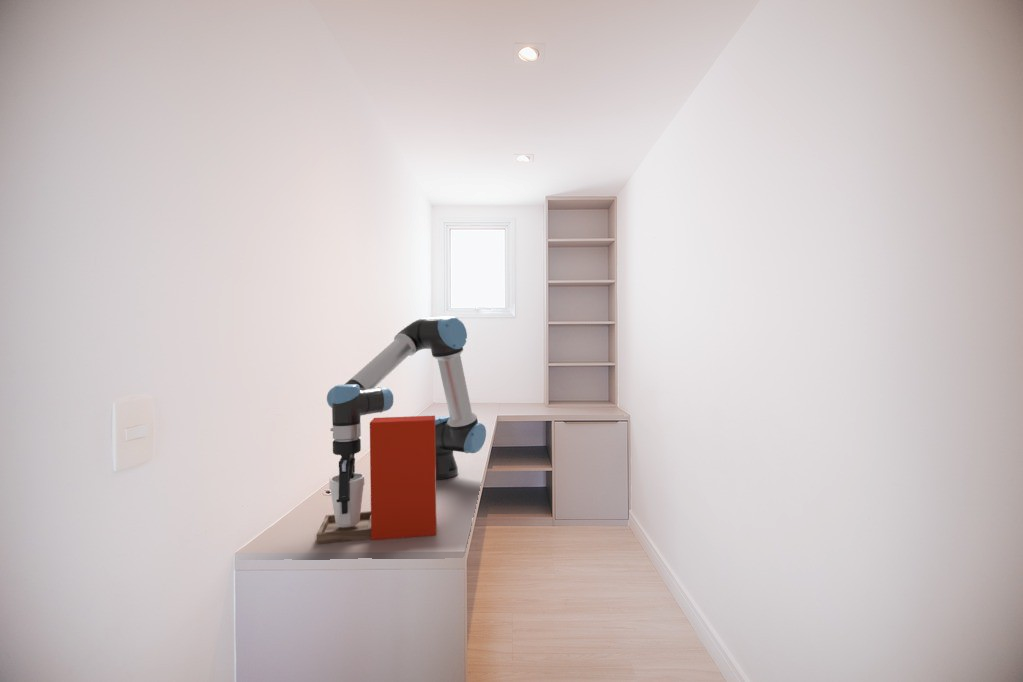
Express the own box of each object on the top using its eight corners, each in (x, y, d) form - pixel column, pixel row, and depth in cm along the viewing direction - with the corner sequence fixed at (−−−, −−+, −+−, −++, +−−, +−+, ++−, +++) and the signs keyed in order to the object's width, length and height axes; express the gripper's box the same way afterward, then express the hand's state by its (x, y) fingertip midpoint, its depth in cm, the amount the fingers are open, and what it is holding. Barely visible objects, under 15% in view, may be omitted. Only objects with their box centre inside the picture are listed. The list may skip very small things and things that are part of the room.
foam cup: (370, 522, 127) (370, 477, 127) (338, 532, 121) (338, 484, 121) (355, 514, 134) (355, 470, 134) (324, 523, 128) (324, 477, 128)
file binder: (435, 536, 123) (434, 419, 123) (371, 540, 121) (369, 422, 121) (436, 524, 131) (435, 415, 131) (375, 528, 129) (374, 417, 129)
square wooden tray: (326, 523, 133) (325, 515, 133) (375, 518, 136) (375, 510, 136) (316, 544, 119) (316, 534, 119) (371, 538, 122) (371, 529, 122)
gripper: (338, 432, 138) (339, 505, 138) (325, 448, 116) (326, 534, 116) (364, 430, 139) (365, 502, 139) (356, 446, 118) (357, 531, 118)
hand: (347, 517), depth 128 cm, fingers closed on foam cup, 9 cm apart
